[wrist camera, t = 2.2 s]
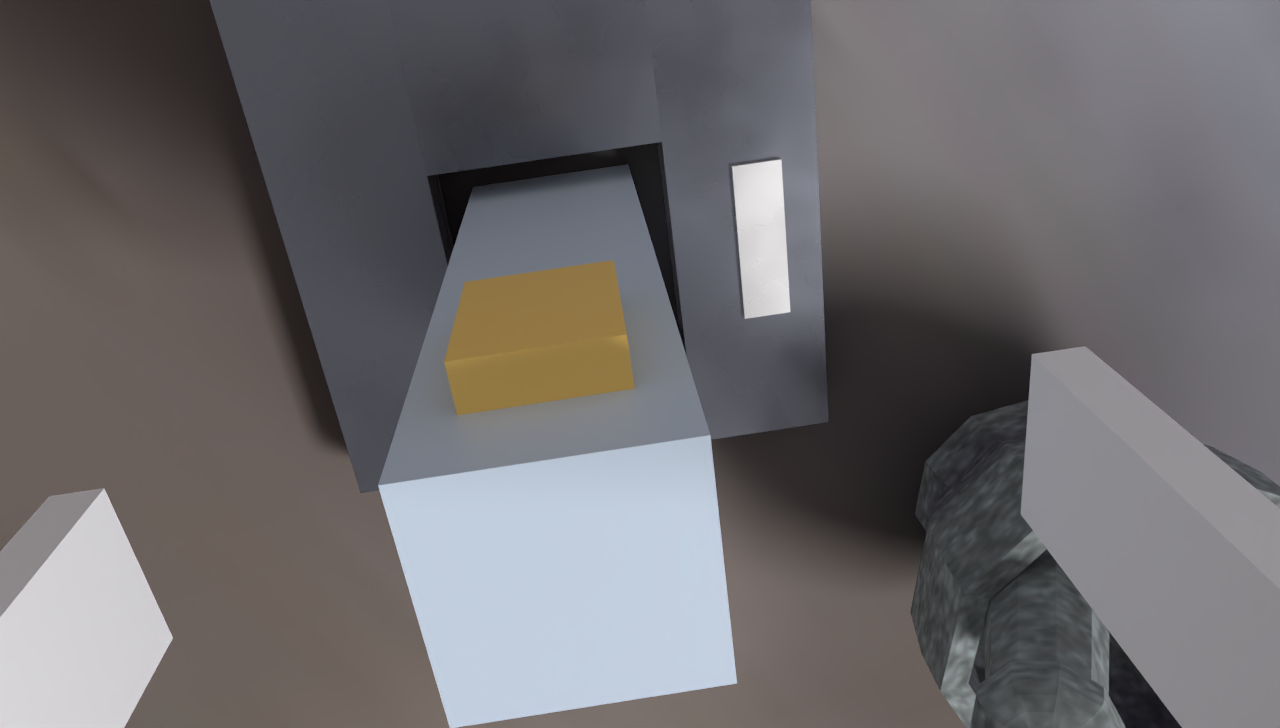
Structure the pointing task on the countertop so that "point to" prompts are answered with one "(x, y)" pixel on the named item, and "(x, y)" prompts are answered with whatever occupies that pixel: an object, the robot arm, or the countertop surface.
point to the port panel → (533, 130)
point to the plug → (558, 465)
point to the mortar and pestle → (1016, 597)
